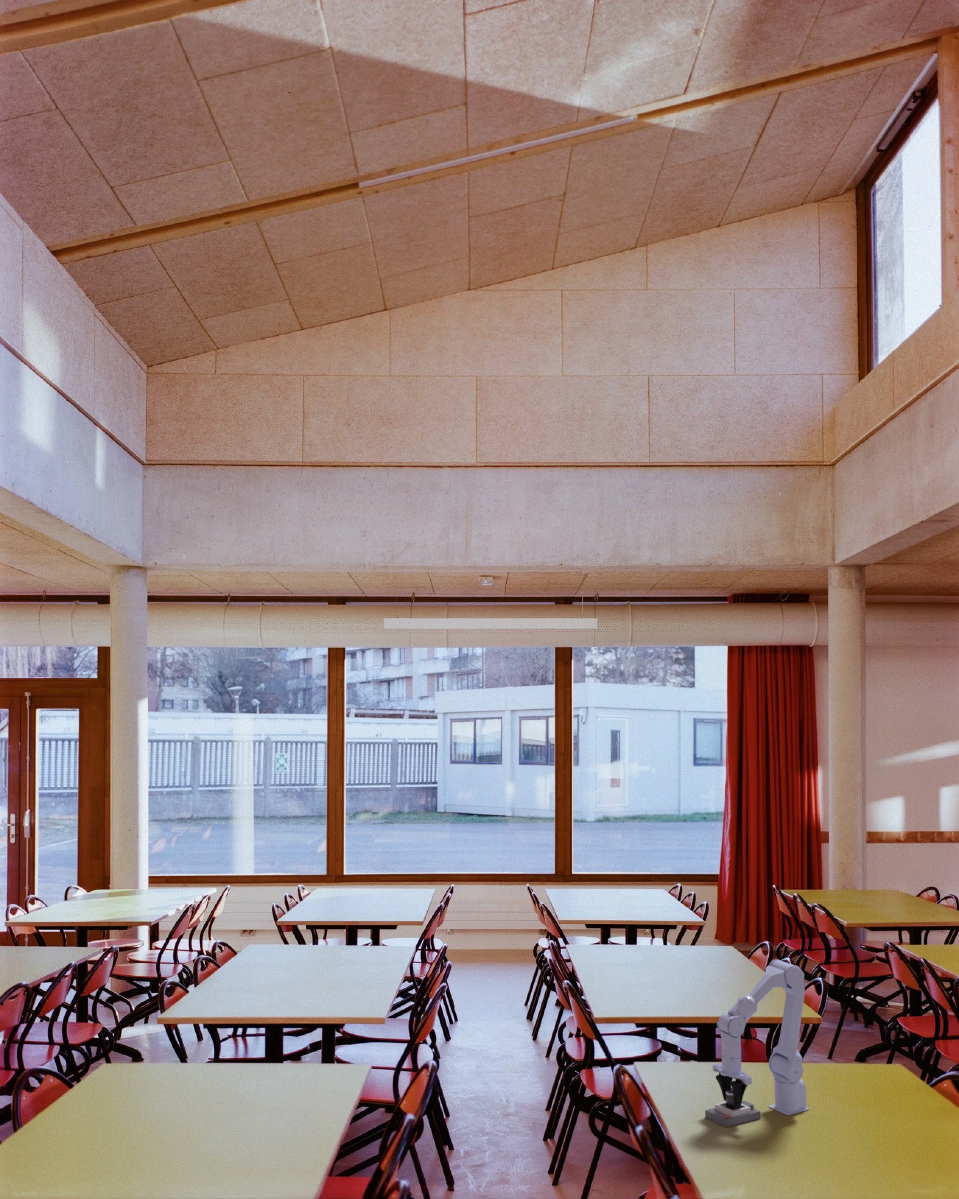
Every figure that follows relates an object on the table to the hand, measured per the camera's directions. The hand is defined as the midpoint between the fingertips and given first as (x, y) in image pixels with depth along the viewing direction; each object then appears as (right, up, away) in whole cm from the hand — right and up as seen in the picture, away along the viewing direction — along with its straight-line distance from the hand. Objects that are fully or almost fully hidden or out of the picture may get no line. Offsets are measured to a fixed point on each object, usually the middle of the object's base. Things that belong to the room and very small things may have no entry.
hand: (732, 1102), depth 308 cm
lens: (0, -2, 0) cm, 2 cm away
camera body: (0, -4, -1) cm, 4 cm away
